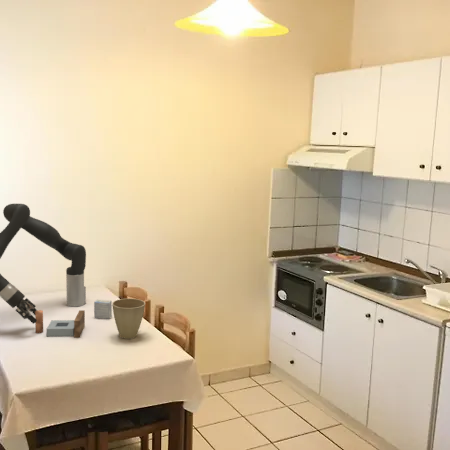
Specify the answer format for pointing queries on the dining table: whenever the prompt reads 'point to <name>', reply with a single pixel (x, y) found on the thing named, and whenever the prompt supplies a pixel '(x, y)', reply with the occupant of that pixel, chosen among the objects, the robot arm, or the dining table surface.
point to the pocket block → (60, 328)
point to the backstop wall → (79, 323)
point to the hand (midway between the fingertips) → (37, 319)
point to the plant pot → (128, 316)
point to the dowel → (39, 321)
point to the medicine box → (103, 309)
